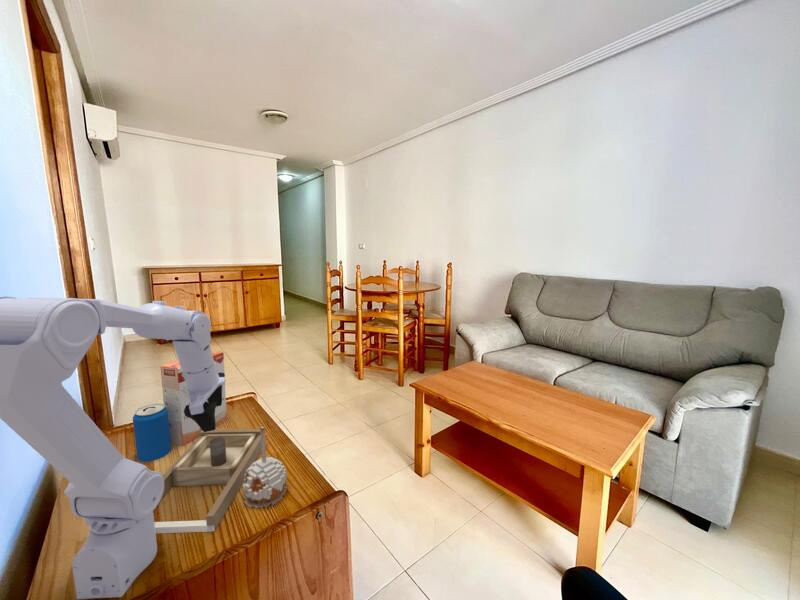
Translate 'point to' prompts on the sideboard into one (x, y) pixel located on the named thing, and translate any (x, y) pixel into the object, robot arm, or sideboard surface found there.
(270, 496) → the decorative ornament
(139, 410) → the beverage can
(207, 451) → the beige shallow open box
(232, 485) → the bay
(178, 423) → the cracker box
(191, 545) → the sideboard surface
